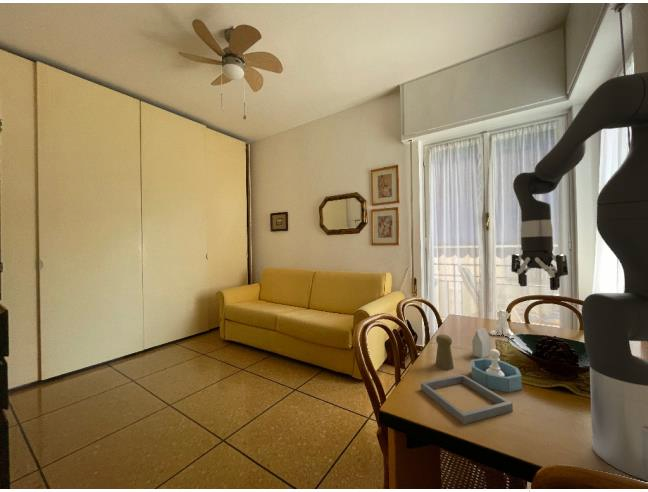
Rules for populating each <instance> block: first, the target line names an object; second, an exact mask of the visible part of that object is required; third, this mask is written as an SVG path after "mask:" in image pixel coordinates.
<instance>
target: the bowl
mask: <svg viewBox="0 0 648 492" xmlns="http://www.w3.org/2000/svg"><path fill="white" fill-rule="evenodd" d="M491 364H492V360H491V359H490V358H487V357H484V358H480V357H479V358H476V359H471V360H470V368H471V369H470V373H471V379H472V380H473V381H475V382H477V383H478V384H480V385H482V386H484V387H485V388H487V389H489V390H491V389H492V390H495V391H499V392H504V393H505V392H506V393H513V392H516V391H519V390H523V383H522V382H523V380H522V379H523V377H522V374H521V371H520V369H519V368H518V367H516V366H514V365H512V364H509V363H508V362H505V361H502V360H500V361H498V366H499V367H500V370H501V371H502V372H503V373H504V375H505V376H499V375H493V374H488V373H486V370H487V369H488V368H490V367H489V366H490V365H491Z"/></svg>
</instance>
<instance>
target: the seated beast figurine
mask: <svg viewBox="0 0 648 492" xmlns="http://www.w3.org/2000/svg"><path fill="white" fill-rule="evenodd" d="M496 313H497V318H498V319H497V321H496V325H495V328H494V329H491V331H490V332H489V333H490V335H491V334H492V335H491V336H493V335H495V336H497V334H499V335H500V336H501V335H502V334H503V335H504V336H503V335H502V336H503V337H505V336H507V335H508V336H511V335H515V334H514V332H513V331H511V329H510V326H509V322H508V320H507V319H509V317H510V316H511V312H510V313H508V311H506V310H504V309H500V310H496Z"/></svg>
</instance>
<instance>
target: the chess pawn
mask: <svg viewBox="0 0 648 492" xmlns="http://www.w3.org/2000/svg"><path fill="white" fill-rule="evenodd" d="M489 354H490V355H489V358H488V359H491V360H492V364H491V365H490V366H489V367H490V368H488V369H487V370H486V373H488V374H493V375H499V376H505V375H504V373H503V372H502V371H501V370H500V367H499V366H498V361H501V359H500V355H501V353H500V351H499V350H497V349H495V348H491V350H490V352H489Z"/></svg>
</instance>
